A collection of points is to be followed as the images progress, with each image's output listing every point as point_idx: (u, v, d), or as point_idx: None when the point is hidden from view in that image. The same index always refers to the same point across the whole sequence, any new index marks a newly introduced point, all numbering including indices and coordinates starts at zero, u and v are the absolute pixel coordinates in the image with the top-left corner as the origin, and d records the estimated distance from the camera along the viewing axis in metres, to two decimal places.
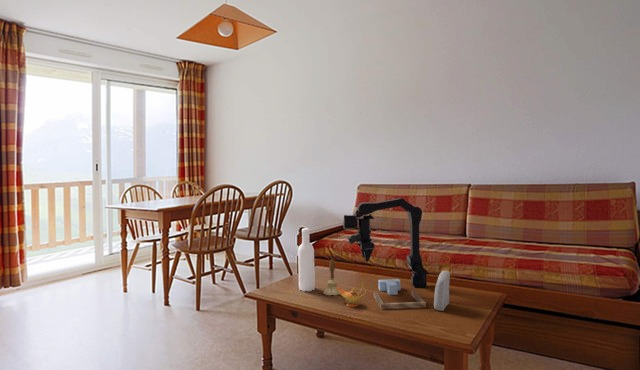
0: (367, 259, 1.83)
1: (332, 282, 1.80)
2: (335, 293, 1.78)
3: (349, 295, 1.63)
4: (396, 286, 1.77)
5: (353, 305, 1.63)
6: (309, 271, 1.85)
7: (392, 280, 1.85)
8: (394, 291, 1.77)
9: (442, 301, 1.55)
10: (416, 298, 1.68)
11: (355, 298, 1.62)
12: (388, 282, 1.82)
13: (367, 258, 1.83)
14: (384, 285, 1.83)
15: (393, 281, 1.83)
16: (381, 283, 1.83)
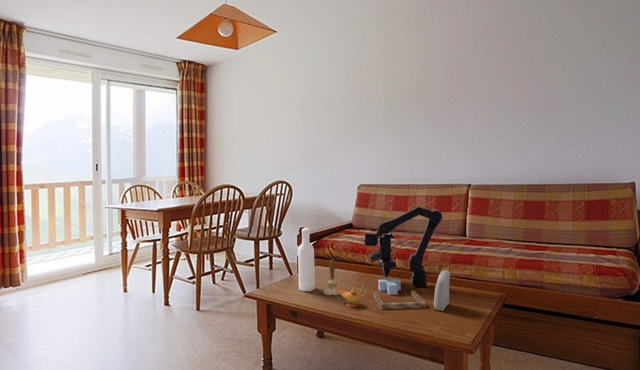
0: (386, 275, 1.92)
1: (332, 282, 1.80)
2: (335, 293, 1.78)
3: (349, 295, 1.63)
4: (396, 286, 1.77)
5: (353, 305, 1.63)
6: (309, 271, 1.85)
7: (392, 280, 1.85)
8: (394, 291, 1.77)
9: (442, 301, 1.55)
10: (416, 298, 1.68)
11: (355, 298, 1.62)
12: (388, 282, 1.82)
13: (386, 274, 1.92)
14: (384, 285, 1.83)
15: (393, 281, 1.83)
16: (381, 283, 1.83)
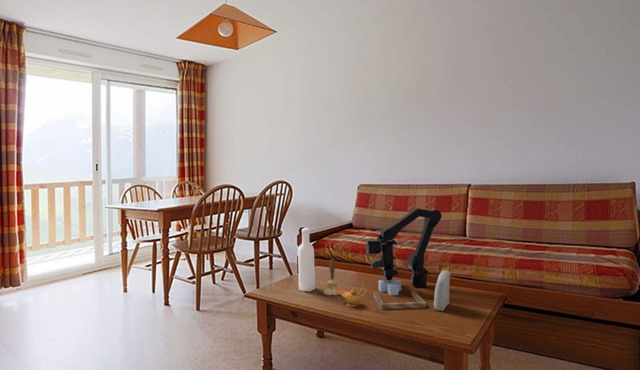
0: None
1: (332, 282, 1.80)
2: (335, 293, 1.78)
3: (349, 295, 1.63)
4: (397, 287, 1.76)
5: (353, 305, 1.63)
6: (309, 271, 1.85)
7: (392, 280, 1.84)
8: (395, 292, 1.76)
9: (442, 301, 1.55)
10: (416, 298, 1.68)
11: (355, 298, 1.62)
12: (389, 283, 1.81)
13: None
14: (385, 286, 1.82)
15: (393, 282, 1.82)
16: (382, 284, 1.82)
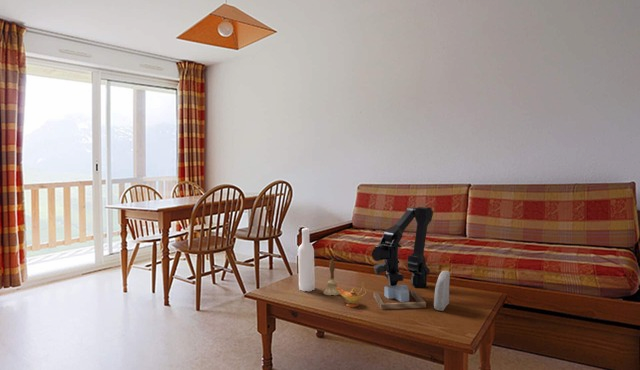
0: None
1: (332, 282, 1.80)
2: (335, 293, 1.78)
3: (349, 295, 1.63)
4: (408, 292, 1.68)
5: (353, 305, 1.63)
6: (309, 271, 1.85)
7: (399, 286, 1.75)
8: (406, 298, 1.67)
9: (442, 301, 1.55)
10: (416, 298, 1.68)
11: (355, 298, 1.62)
12: (397, 289, 1.71)
13: None
14: (392, 292, 1.72)
15: (401, 287, 1.73)
16: (389, 290, 1.72)
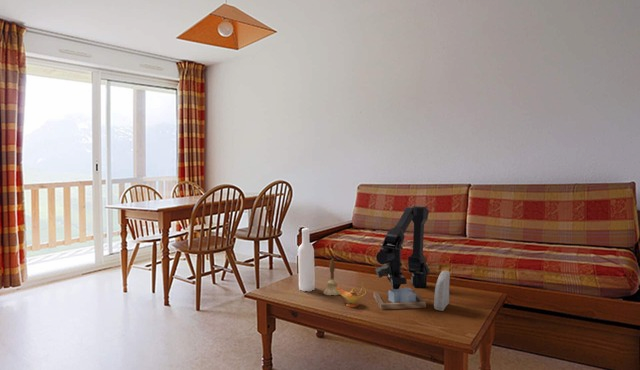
0: None
1: (332, 282, 1.80)
2: (335, 293, 1.78)
3: (349, 295, 1.63)
4: (414, 295, 1.63)
5: (353, 305, 1.63)
6: (309, 271, 1.85)
7: (403, 289, 1.71)
8: (412, 301, 1.63)
9: (442, 301, 1.55)
10: (416, 298, 1.68)
11: (355, 298, 1.62)
12: (402, 292, 1.67)
13: None
14: (398, 296, 1.67)
15: (406, 290, 1.68)
16: (395, 294, 1.66)
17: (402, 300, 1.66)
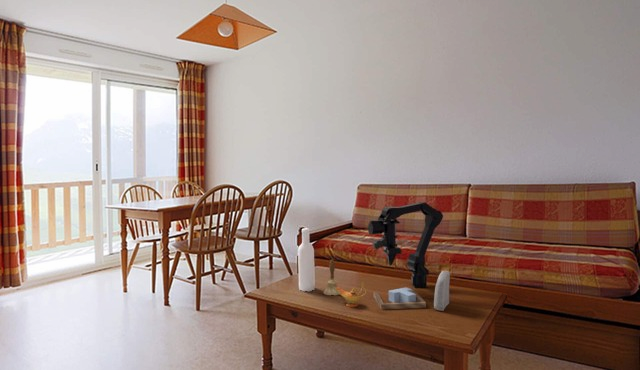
0: (391, 262, 1.84)
1: (332, 282, 1.80)
2: (335, 293, 1.78)
3: (349, 295, 1.63)
4: (414, 295, 1.63)
5: (353, 305, 1.63)
6: (309, 271, 1.85)
7: (403, 289, 1.70)
8: (413, 301, 1.63)
9: (442, 301, 1.55)
10: (416, 298, 1.68)
11: (355, 298, 1.62)
12: (402, 292, 1.66)
13: (391, 261, 1.84)
14: (398, 296, 1.67)
15: (406, 291, 1.68)
16: (395, 294, 1.66)
17: (402, 300, 1.66)
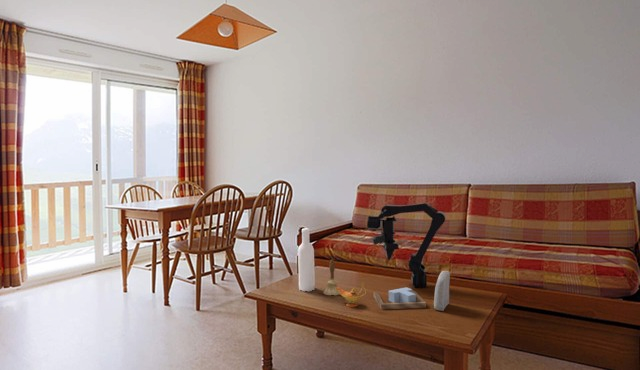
0: (389, 257, 1.94)
1: (332, 282, 1.80)
2: (335, 293, 1.78)
3: (349, 295, 1.63)
4: (414, 295, 1.63)
5: (353, 305, 1.63)
6: (309, 271, 1.85)
7: (403, 289, 1.70)
8: (413, 301, 1.63)
9: (442, 301, 1.55)
10: (416, 298, 1.68)
11: (355, 298, 1.62)
12: (402, 292, 1.66)
13: (389, 256, 1.94)
14: (398, 296, 1.67)
15: (406, 291, 1.68)
16: (395, 294, 1.66)
17: (402, 300, 1.66)
